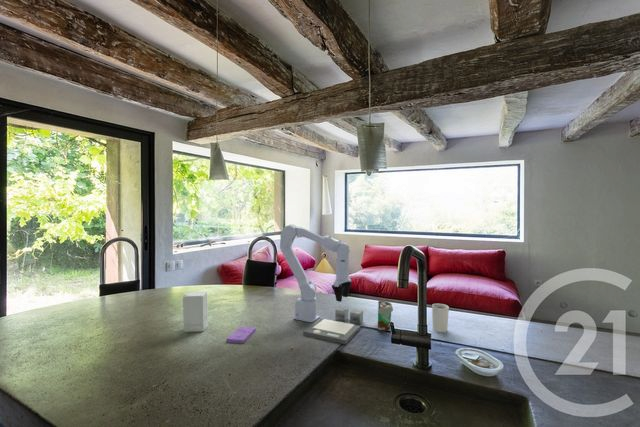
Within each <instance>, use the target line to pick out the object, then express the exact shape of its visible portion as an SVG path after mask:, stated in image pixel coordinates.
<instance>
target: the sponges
mask: <svg viewBox="0 0 640 427" xmlns="http://www.w3.org/2000/svg"><path fill="white" fill-rule="evenodd" d="M256 330H257V327H255V326H254V327H252V326H251V327H250V326H249V327H247V326H239V327H238V328H237V329H236V330H235V331H234V332H232V333H231V334H230V335H229V336H227V338H226V343H236V344H245V343H246V342H247V340H249V338H251V337H252V335H253V334H254V333H255V332H256Z"/></svg>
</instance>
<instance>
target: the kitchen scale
mask: <svg viewBox="0 0 640 427" xmlns="http://www.w3.org/2000/svg"><path fill="white" fill-rule="evenodd" d="M360 330H361V326H360V325H356V324H351V323H349V322H348V323H346V322H341V321H335V320H331V319H326V318H319V320H317V321H316V322H313V324H312V325H310V326H309V327H308V328H306V329H304V330H303V336H307V337H311V338H315V339H320V340H324V341H329V342H333V343H338V344H341V345H347V344H348V343H349V342H350V341H351V340H352V339H353V337H354V336H355V335H356V334H357V333H358V332H359V331H360Z"/></svg>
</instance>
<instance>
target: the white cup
mask: <svg viewBox="0 0 640 427" xmlns="http://www.w3.org/2000/svg"><path fill="white" fill-rule="evenodd" d="M449 307H450V306H448V305H447V304H444V303H433V304H431V311H432V312H431V313H432V330H433V331H434V332H436V333H437V332H438V333H447V332H448V327H449V326H448V325H449V312H450V308H449Z"/></svg>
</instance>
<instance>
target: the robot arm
mask: <svg viewBox="0 0 640 427" xmlns="http://www.w3.org/2000/svg"><path fill="white" fill-rule="evenodd" d="M279 236H280V239H279V240H280V241H279V242H280V243H279V249H280V251H281V253H282V256H283V257H284V259H285V260H286V263H287V264H288V266H289V268H290V270H291V272H292V274H293V276H294V278H295V279H296V282H297V284H298V288H299V290H300V297H298V298H296V300H295V304H294V318H293V319H294V320H297V321H304V322H308V323H315V321H316V320H318V319H320V318H321V316H320V315H317V299H318V298H317V297H316V292H317V286H316V284H315V283H314V282H312V281H311V279H310V278H309V277H308V275H307V273H306V271H305V269H304V268H303V266H302V264H301V261H300V260H299V259H298V257H297V254H296V253H295V251H294V249H293V244H294V240H295V239H296V238H305V239H308V240H311V241H313V242H316V243H319V244H320V247H321V248H323V249H326V250H328V251H330V252H331V253H332V252H333V253H336V262H335V263H336V265H335V266H336V267H335V270H336V271H335V275H336V276H335V280H334V282H333V284H331V288H332V290H333V292H334V295H335V301H336V302H339V303H341V302H342V300H343V298H348V297H349V292H350V288H351V286H352V284H353V281H352V279H351V276H350V255H349V254H350V251H351V250H350V247H349V244H348V243H346V242H345V241H342V240H341V239H339V240H338V239H336V238H333V237H332V235H330V234H329V235H324V236H321V235H320V234H317V233H316V232H313V231H311V230H309V229H307V228H304V227H302V226H297V225H295V224H289V225H286V226H284V227H283V228H282V229H281V232H280V234H279Z"/></svg>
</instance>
